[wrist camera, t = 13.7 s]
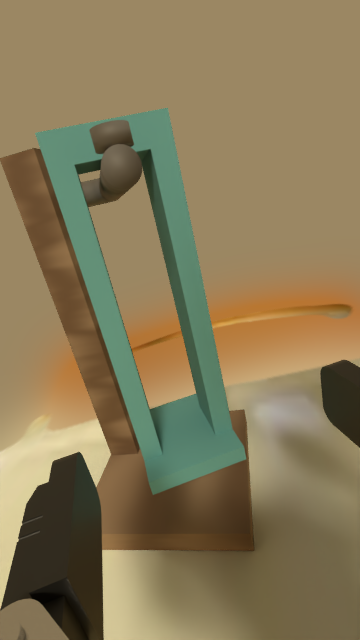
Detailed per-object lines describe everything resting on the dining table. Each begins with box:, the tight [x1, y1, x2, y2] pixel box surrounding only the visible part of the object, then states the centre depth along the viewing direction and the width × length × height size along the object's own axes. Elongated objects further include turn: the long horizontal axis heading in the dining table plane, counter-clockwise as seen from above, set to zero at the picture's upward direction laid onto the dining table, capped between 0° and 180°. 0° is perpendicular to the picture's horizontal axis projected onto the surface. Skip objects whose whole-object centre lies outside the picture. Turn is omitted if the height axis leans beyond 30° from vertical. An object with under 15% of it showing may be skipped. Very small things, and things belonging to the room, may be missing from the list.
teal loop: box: [35, 108, 246, 495], centre depth 19 cm, size 6×7×20 cm
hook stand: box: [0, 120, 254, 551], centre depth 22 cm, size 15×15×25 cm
